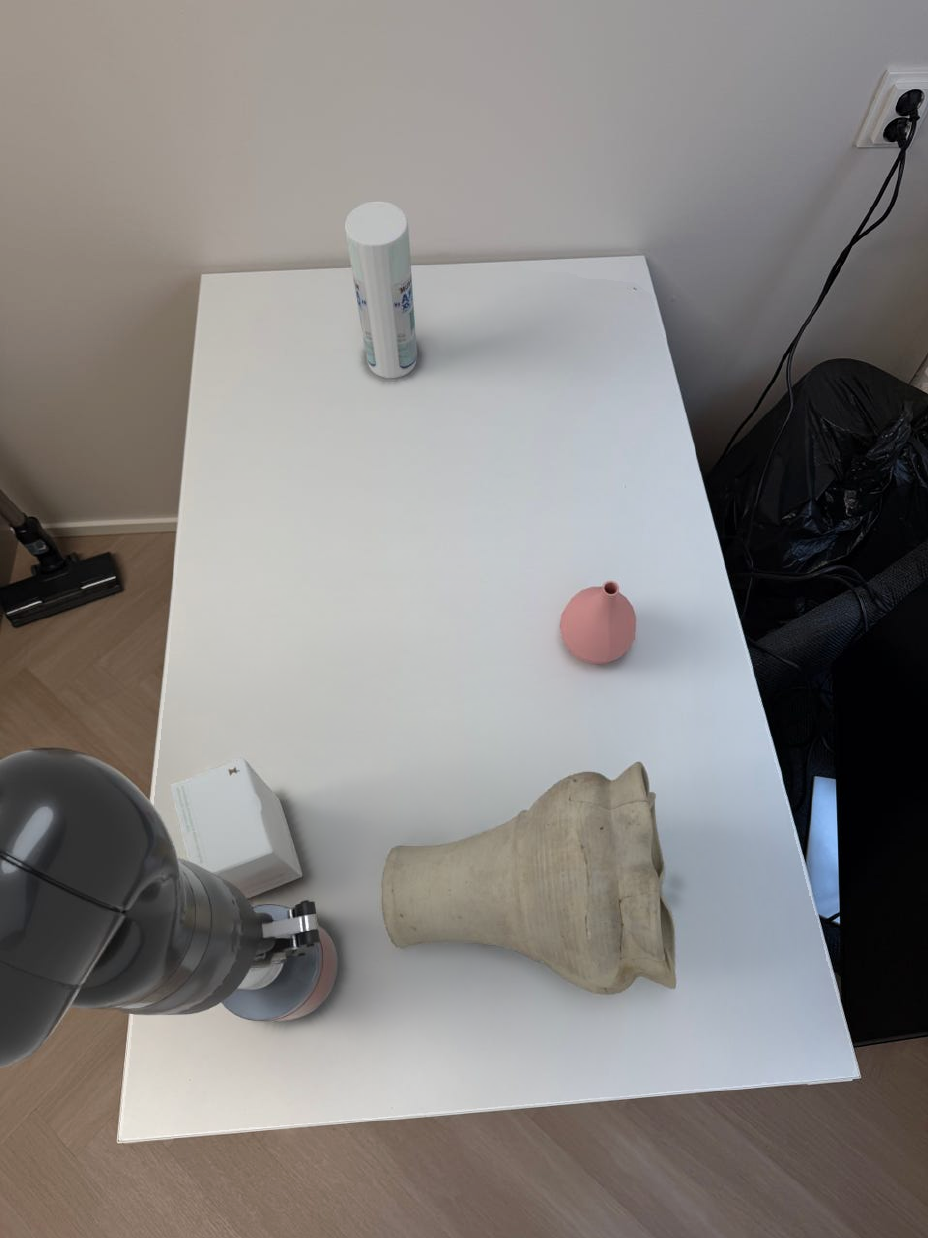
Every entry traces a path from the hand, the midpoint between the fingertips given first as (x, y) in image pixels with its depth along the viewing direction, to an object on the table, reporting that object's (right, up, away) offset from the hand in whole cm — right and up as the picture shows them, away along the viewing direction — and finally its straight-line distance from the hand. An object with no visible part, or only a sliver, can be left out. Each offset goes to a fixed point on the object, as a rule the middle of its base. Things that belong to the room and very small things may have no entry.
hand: (245, 955), depth 60 cm
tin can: (0, -7, +15) cm, 17 cm away
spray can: (+7, +56, +45) cm, 72 cm away
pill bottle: (0, -1, +3) cm, 4 cm away
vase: (+20, -1, +18) cm, 27 cm away
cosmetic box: (-4, +2, +20) cm, 20 cm away
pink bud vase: (+29, +22, +29) cm, 46 cm away
